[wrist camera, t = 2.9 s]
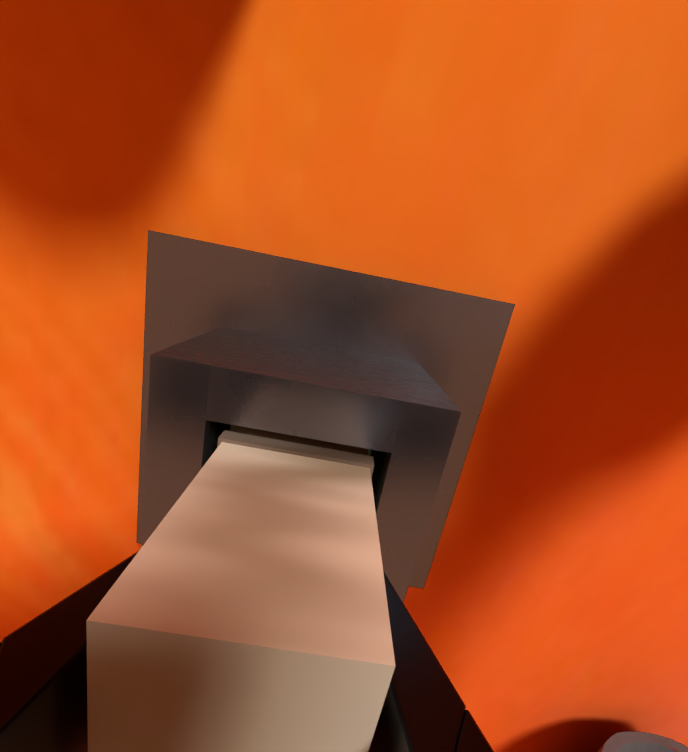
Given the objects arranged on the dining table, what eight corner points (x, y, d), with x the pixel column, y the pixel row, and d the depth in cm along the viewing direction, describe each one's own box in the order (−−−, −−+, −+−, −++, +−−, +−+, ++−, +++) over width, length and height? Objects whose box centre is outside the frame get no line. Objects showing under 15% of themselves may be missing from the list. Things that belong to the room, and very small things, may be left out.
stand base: (505, 303, 14) (652, 325, 7) (420, 575, 18) (465, 755, 11) (159, 232, 13) (-28, 186, 7) (145, 530, 17) (16, 693, 10)
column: (367, 411, 13) (409, 659, 5) (345, 507, 14) (346, 850, 6) (253, 390, 13) (74, 609, 4) (240, 490, 14) (78, 817, 5)
